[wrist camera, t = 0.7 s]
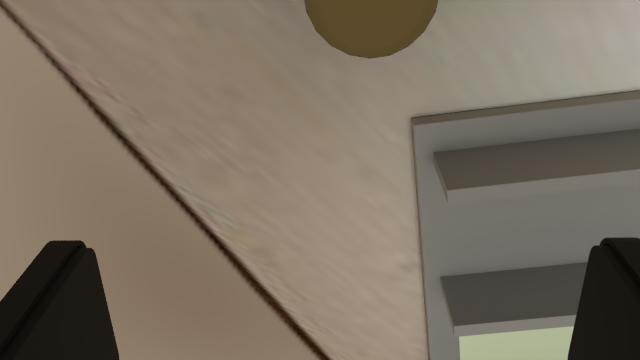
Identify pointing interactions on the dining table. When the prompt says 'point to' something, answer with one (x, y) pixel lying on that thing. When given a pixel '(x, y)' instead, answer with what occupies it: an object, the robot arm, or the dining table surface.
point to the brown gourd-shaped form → (370, 24)
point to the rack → (520, 219)
